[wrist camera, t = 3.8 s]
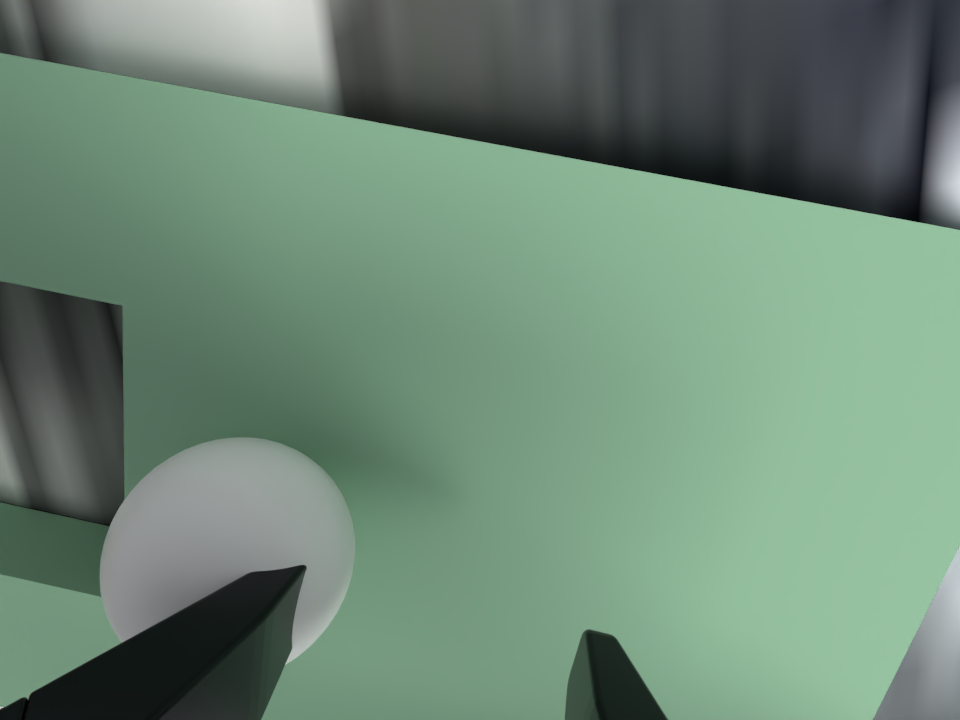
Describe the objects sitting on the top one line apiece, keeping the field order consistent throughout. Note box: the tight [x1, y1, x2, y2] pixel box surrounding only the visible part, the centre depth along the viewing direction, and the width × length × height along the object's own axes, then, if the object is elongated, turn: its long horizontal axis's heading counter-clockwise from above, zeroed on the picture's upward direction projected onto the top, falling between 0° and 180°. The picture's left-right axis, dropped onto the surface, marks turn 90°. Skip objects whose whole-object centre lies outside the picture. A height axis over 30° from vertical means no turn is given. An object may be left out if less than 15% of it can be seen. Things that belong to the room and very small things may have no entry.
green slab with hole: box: [0, 53, 960, 720], centre depth 11 cm, size 22×13×4 cm, turn 80°
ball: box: [100, 437, 355, 665], centre depth 9 cm, size 4×4×4 cm
